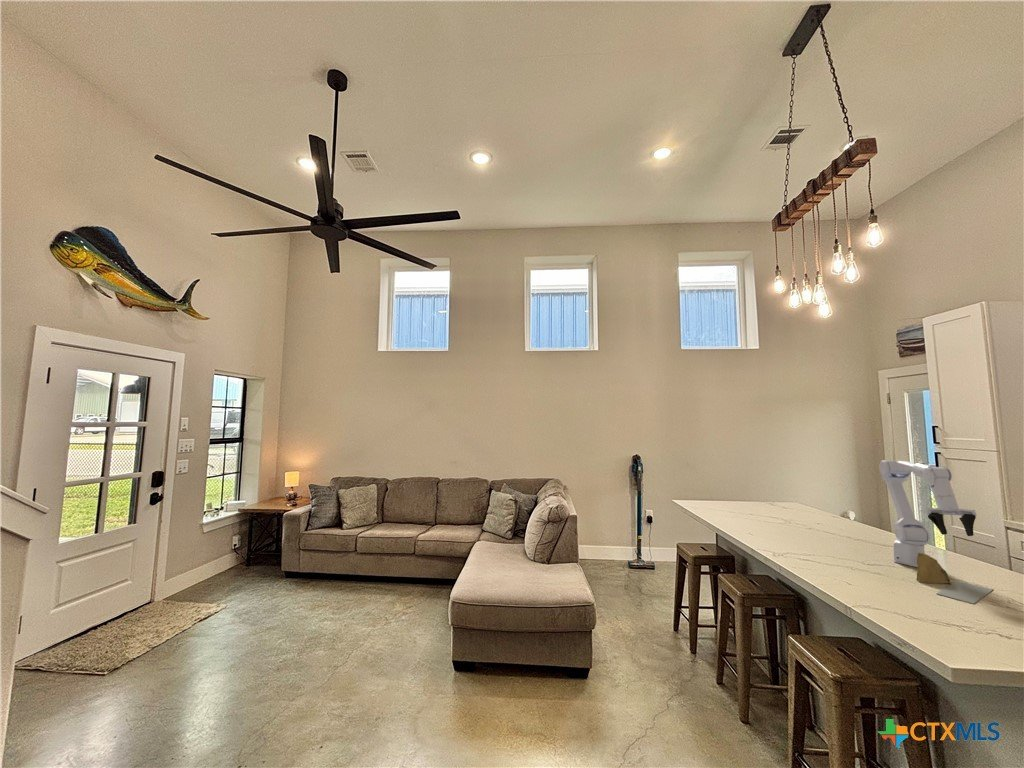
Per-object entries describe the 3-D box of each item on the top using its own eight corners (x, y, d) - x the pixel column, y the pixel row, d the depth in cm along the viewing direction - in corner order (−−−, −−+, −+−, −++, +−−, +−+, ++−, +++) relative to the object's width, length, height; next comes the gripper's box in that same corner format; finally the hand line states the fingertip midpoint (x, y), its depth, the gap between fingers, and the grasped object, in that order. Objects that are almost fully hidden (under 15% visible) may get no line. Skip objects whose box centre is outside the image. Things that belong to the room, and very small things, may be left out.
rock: (950, 574, 162) (914, 564, 168) (954, 560, 158) (918, 550, 164) (951, 598, 155) (914, 587, 162) (956, 584, 151) (918, 573, 158)
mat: (936, 594, 148) (936, 593, 148) (958, 581, 161) (958, 580, 161) (973, 604, 141) (973, 603, 141) (993, 590, 153) (993, 589, 153)
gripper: (927, 494, 161) (939, 532, 155) (975, 496, 157) (990, 534, 151) (917, 498, 167) (928, 534, 161) (963, 500, 163) (977, 537, 157)
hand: (957, 535), depth 156 cm, fingers open, 7 cm apart
